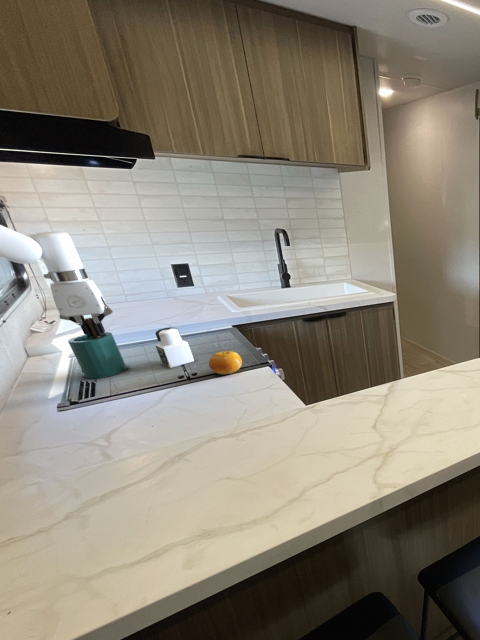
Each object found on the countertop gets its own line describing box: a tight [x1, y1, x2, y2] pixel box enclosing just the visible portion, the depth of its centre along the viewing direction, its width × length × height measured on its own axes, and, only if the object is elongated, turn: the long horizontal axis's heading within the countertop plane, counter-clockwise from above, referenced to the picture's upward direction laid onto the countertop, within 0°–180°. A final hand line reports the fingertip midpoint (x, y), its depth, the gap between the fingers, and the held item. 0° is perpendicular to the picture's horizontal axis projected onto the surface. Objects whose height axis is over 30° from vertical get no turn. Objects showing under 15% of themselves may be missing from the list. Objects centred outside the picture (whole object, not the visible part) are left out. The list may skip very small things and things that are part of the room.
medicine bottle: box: [154, 326, 195, 369], centre depth 135 cm, size 7×7×12 cm
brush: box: [85, 317, 101, 339], centre depth 126 cm, size 4×4×14 cm
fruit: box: [208, 350, 243, 375], centre depth 127 cm, size 8×9×8 cm
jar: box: [67, 331, 127, 379], centre depth 128 cm, size 10×10×12 cm
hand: (96, 335), depth 126 cm, fingers closed on brush
